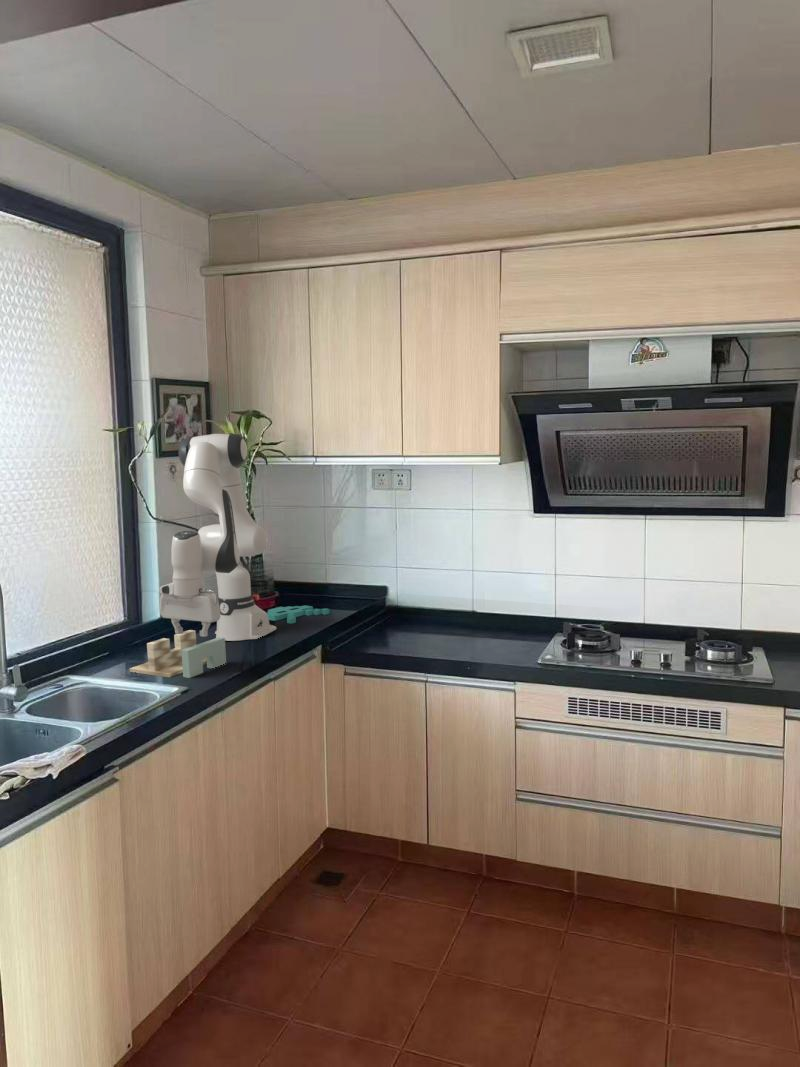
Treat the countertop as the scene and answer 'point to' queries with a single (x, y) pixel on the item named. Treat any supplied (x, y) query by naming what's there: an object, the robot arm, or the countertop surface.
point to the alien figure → (293, 612)
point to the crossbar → (203, 656)
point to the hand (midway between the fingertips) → (191, 634)
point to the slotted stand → (167, 655)
